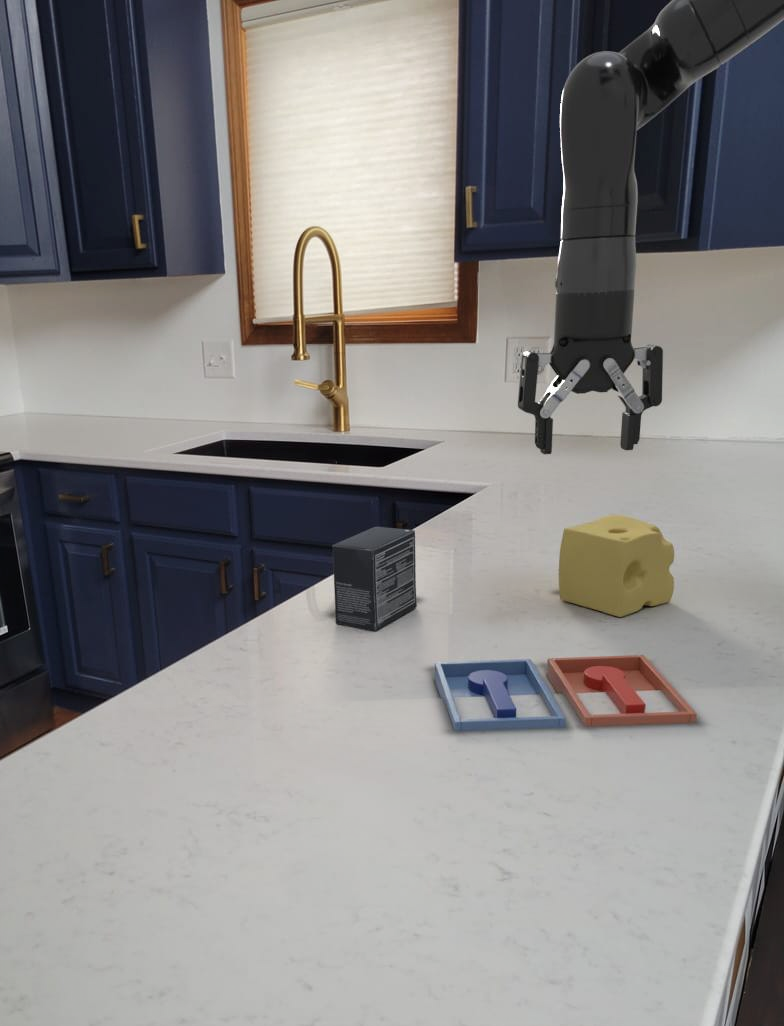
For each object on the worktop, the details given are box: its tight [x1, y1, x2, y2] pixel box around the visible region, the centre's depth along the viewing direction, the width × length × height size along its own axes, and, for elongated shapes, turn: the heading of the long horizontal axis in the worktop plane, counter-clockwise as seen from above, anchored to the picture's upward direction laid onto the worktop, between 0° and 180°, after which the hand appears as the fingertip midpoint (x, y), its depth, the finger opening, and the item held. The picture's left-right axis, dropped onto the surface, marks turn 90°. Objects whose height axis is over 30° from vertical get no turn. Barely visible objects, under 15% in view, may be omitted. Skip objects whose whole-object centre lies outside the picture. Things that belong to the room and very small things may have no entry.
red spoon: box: [584, 666, 646, 714], centre depth 95 cm, size 12×4×2 cm, turn 0°
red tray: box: [546, 654, 697, 727], centre depth 95 cm, size 10×15×2 cm
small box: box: [332, 526, 418, 632], centre depth 121 cm, size 11×6×10 cm, turn 145°
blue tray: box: [434, 658, 567, 732], centre depth 95 cm, size 10×15×2 cm
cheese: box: [558, 513, 675, 618], centre depth 123 cm, size 10×11×10 cm
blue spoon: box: [468, 670, 517, 718], centre depth 95 cm, size 12×4×2 cm, turn 0°
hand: (586, 451), depth 101 cm, fingers open, 8 cm apart
